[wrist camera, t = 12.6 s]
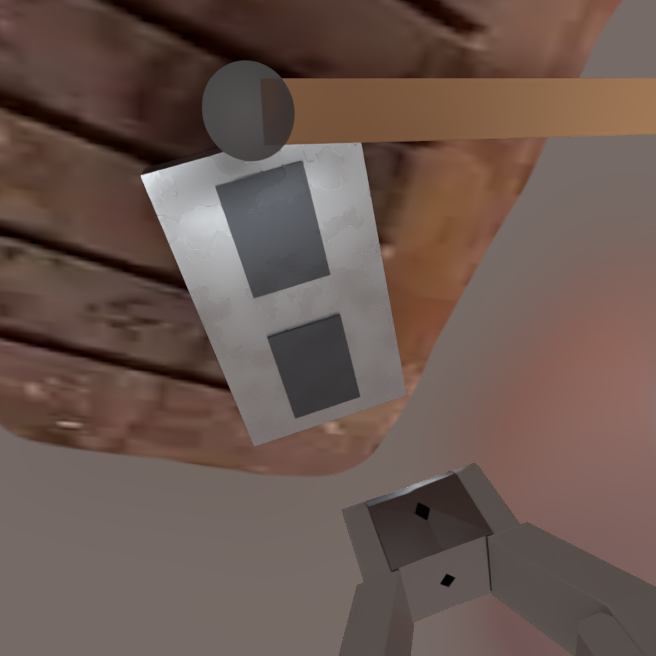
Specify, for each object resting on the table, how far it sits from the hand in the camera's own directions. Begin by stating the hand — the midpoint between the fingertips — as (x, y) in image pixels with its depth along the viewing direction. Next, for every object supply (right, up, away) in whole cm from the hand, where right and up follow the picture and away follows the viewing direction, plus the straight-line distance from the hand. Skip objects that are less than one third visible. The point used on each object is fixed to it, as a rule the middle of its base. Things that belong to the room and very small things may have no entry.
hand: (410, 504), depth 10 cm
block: (-5, +8, +22) cm, 23 cm away
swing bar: (+4, +14, +12) cm, 19 cm away
